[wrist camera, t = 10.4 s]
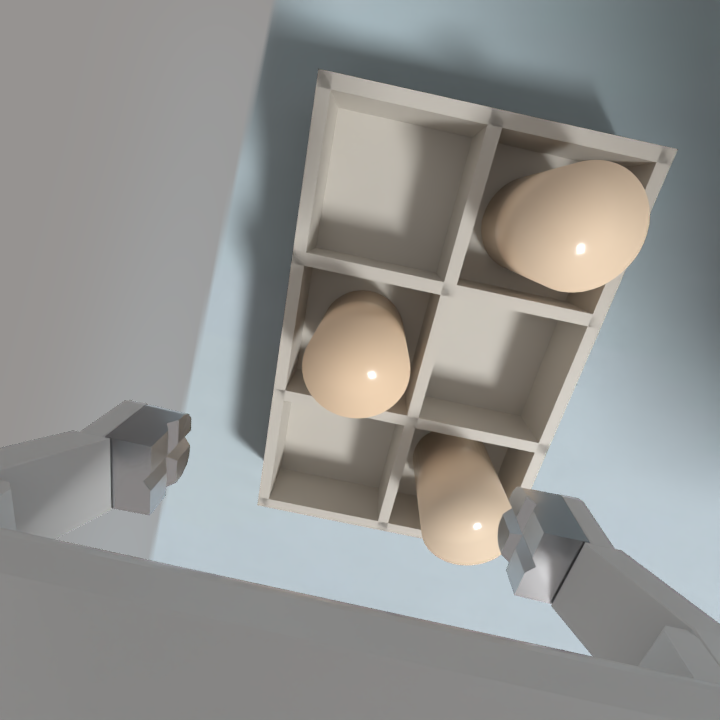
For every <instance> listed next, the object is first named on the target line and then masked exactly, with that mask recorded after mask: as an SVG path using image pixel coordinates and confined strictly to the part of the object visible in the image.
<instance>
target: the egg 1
mask: <svg viewBox="0 0 720 720" xmlns="http://www.w3.org/2000/svg"><path fill="white" fill-rule="evenodd" d="M302 373H303V378H304V381H305V384H306V387H307V389H308V391H309V392H310V394H311V395H312V397H313V398H314V399H315V400H316V401H317V402H318V403H319V404H320V405H321V406H322V407H324V408H325V409H327V410H328V411H330V412H332V413H334V414H337V415H339V416H343V417H348V418H368V417H372V416H375V415H378V414H381V413H383V412H385V411H386V410H388V409H389V408H391V407H392V406H393V405H394V404H396V403H397V401H398V400H399V399H400V398H401V397H402V395H403V394H404V392H405V390H406V388H407V385H408V382H409V378H410V360H409V354H408V349H407V343H406V337H405V332H404V326H403V321H402V318H401V315H400V313H399V311H398V309H397V308H396V307H395V305H394V304H393V303H392V302H391V301H390V300H389V299H387V298H386V297H384V296H383V295H381V294H379V293H376V292H373V291H367V290H358V291H352V292H349V293H346V294H344V295H342V296H340V297H339V298H338V299H336V300H335V301H334V302H333V303H332V304H331V305H330V307H329V308H328V310H327V311H326V313H325V315H324V317H323V319H322V320H321V322H320V324H319V326H318V327H317V329H316V331H315V333H314V334H313V336H312V338H311V340H310V341H309V343H308V345H307V347H306V349H305V352H304V356H303V361H302Z"/></svg>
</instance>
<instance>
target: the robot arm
mask: <svg viewBox="0 0 720 720" xmlns="http://www.w3.org/2000/svg"><path fill="white" fill-rule="evenodd" d="M190 430H191V417H190V415H189V414H187V413H183V412H179V411H174V410H170V409H166V408H162V407H158V406H154V405H148V404H145V403H141V402H136V401H132V400H125V401H123V402H122V403H120V404H119V405H117V406H116V407H115V408H113V409H112V410H110V411H109V412H107V413H106V414H105V415H103V416H102V417H100V418H99V419H97V420H96V421H95V422H93V423H92V424H90V425H89V426H88V427H86V428H84V429H83V430H82V431H80V432H78V431H73V430H72V431H68V432H64V433H60V434H56V435H51V436H47V437H43V438H39V439H35V440H30V441H26V442H22V443H18V444H14V445H9V446H6V447H2V448H0V720H720V624H719V623H718V622H717V621H715V620H714V619H713V618H711V617H710V616H709V615H707V614H706V613H705V612H703V611H702V610H701V609H699V608H698V607H697V606H695V605H694V604H693V603H691V602H690V601H689V600H687V599H686V598H684V597H683V596H682V595H680V594H679V593H678V592H676V591H675V590H674V589H672V588H671V587H670V586H668V585H667V584H666V583H664V582H663V581H662V580H660V579H659V578H658V577H656V576H655V575H654V574H652V573H651V572H650V571H648V570H647V569H646V568H644V567H643V566H642V565H640V564H639V563H638V562H636V561H635V560H634V559H632V558H631V557H630V556H628V555H627V554H626V553H624V552H623V551H622V550H617V549H615V548H614V547H613V545H612V544H611V542H610V541H609V539H608V538H607V536H606V535H605V533H604V532H603V530H602V529H601V527H600V526H599V524H598V523H597V521H596V520H595V518H594V517H593V515H592V514H591V512H590V511H589V509H588V508H587V506H586V505H585V503H584V502H583V501H582V500H580V499H579V498H575V497H570V496H564V495H559V494H552V493H547V492H542V491H537V490H532V489H527V488H522V487H516V488H515V489H514V490H513V491H512V494H511V496H510V498H509V501H510V504H511V507H512V508H511V509H510V510H508V511H507V512H505V513H504V514H503V515H502V517H501V520H500V523H499V527H498V536H497V537H498V546H499V549H500V552H501V554H502V556H503V557H504V558H505V559H506V560H507V561H508V562H509V564H508V566H507V569H506V571H507V574H508V577H509V580H510V583H511V586H512V589H513V592H514V595H516V596H520V597H524V598H529V599H533V600H537V601H541V602H545V603H549V604H552V605H551V606H552V608H553V609H554V610H555V611H556V612H557V614H558V615H559V616H560V617H561V618H562V620H563V621H564V622H565V623H566V625H567V626H568V627H569V628H570V629H571V631H572V632H573V633H574V634H575V635H576V637H577V638H578V639H579V640H580V642H581V643H582V644H583V645H584V646H585V648H586V649H587V650H588V651H589V652H590V654H591V655H592V656H593V657H592V656H588V655H583V654H578V653H574V652H569V651H565V650H560V649H555V648H551V647H546V646H542V645H537V644H533V643H528V642H523V641H519V640H514V639H510V638H505V637H501V636H496V635H491V634H487V633H482V632H478V631H473V630H469V629H464V628H459V627H455V626H450V625H446V624H441V623H437V622H432V621H428V620H423V619H418V618H414V617H409V616H405V615H400V614H396V613H391V612H386V611H382V610H377V609H372V608H368V607H363V606H359V605H354V604H349V603H345V602H340V601H335V600H331V599H326V598H322V597H317V596H312V595H308V594H303V593H298V592H294V591H289V590H284V589H280V588H275V587H271V586H266V585H262V584H257V583H252V582H248V581H243V580H239V579H234V578H229V577H225V576H220V575H216V574H211V573H207V572H202V571H197V570H193V569H188V568H184V567H179V566H175V565H170V564H165V563H161V562H156V561H152V560H147V559H142V558H138V557H133V556H129V555H124V554H119V553H115V552H110V551H106V550H101V549H97V548H92V547H87V546H83V545H78V544H73V543H69V542H64V541H60V540H55V539H57V538H59V537H61V536H63V535H65V534H67V533H68V532H70V531H72V530H74V529H76V528H78V527H80V526H82V525H84V524H86V523H88V522H90V521H92V520H93V519H95V518H97V517H99V516H101V515H103V514H105V513H107V512H109V511H111V508H114V509H119V510H124V511H129V512H135V513H140V514H145V515H150V514H151V513H152V512H153V511H154V509H155V508H156V507H157V506H158V504H159V503H160V502H161V501H162V500H163V498H164V497H165V496H166V487H167V486H169V485H172V484H174V483H176V482H177V481H178V479H179V478H180V477H181V475H182V473H183V471H184V469H185V467H186V465H187V462H188V457H189V451H190V445H189V443H188V442H187V440H186V438H185V436H186V435H187V434H188V433H189V431H190Z"/></svg>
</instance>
